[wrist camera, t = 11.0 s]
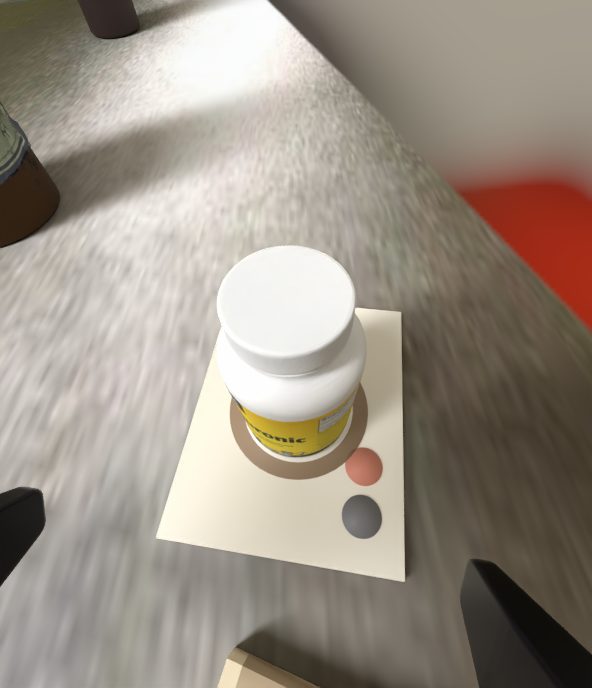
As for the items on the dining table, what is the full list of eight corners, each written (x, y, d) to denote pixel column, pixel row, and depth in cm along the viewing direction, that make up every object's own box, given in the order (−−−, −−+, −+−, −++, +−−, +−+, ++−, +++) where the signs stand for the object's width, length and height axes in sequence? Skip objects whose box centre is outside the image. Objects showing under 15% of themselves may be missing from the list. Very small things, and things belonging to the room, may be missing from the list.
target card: (402, 581, 14) (405, 582, 14) (158, 538, 16) (155, 537, 15) (399, 315, 21) (401, 311, 21) (232, 299, 23) (230, 294, 22)
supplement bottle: (226, 412, 18) (152, 298, 10) (294, 346, 20) (283, 203, 11) (300, 486, 16) (290, 424, 8) (369, 405, 18) (421, 284, 10)
